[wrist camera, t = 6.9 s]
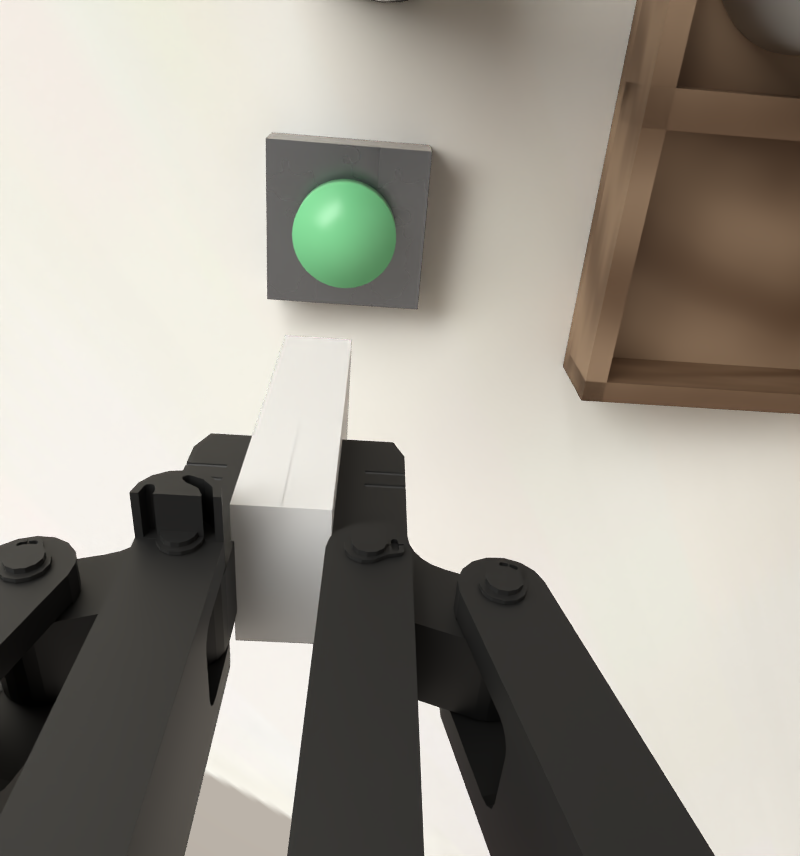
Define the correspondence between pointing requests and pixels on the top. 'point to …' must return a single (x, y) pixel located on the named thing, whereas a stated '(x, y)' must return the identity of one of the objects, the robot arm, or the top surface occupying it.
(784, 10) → the seated billet
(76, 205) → the top surface
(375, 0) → the spotted tube
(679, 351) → the divided wooden tray
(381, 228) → the button
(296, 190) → the button housing
